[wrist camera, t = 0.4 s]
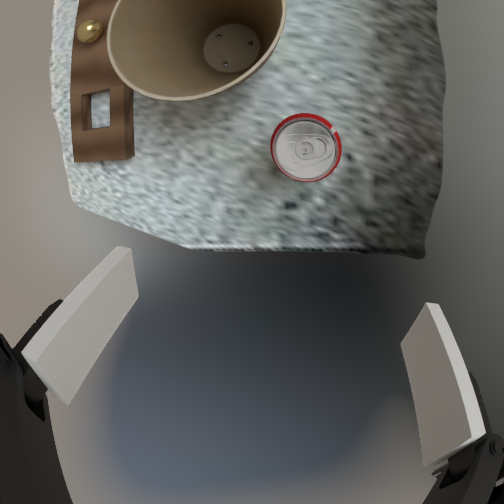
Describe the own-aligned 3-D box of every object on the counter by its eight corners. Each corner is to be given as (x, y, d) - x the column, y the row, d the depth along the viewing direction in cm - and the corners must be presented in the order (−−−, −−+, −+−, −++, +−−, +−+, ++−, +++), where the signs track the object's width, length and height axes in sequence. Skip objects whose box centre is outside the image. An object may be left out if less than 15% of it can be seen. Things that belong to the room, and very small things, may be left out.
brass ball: (89, 24, 24) (73, 22, 20) (109, 17, 23) (93, 13, 20) (87, 46, 26) (70, 45, 22) (107, 40, 25) (90, 37, 22)
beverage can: (330, 157, 33) (351, 192, 20) (280, 155, 34) (269, 188, 21) (331, 113, 30) (355, 117, 17) (280, 111, 31) (267, 113, 18)
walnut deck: (90, -9, 22) (81, -12, 20) (145, -29, 20) (137, -34, 18) (83, 158, 38) (74, 162, 36) (134, 155, 37) (125, 159, 35)
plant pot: (158, 70, 30) (81, 63, 16) (219, -12, 23) (171, -65, 9) (246, 123, 33) (208, 136, 19) (315, 38, 25) (327, -10, 12)
